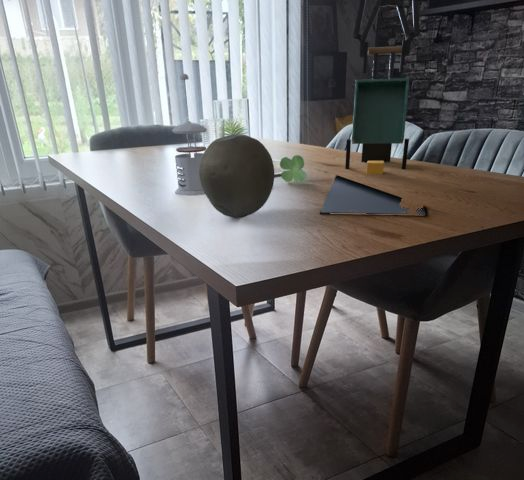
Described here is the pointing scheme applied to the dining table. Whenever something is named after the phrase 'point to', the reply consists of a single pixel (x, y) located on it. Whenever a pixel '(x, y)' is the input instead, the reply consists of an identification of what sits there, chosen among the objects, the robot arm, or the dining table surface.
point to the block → (375, 167)
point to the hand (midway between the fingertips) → (382, 72)
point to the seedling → (293, 169)
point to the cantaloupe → (237, 175)
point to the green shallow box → (380, 104)
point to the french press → (189, 157)
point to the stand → (376, 152)
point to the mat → (361, 199)
